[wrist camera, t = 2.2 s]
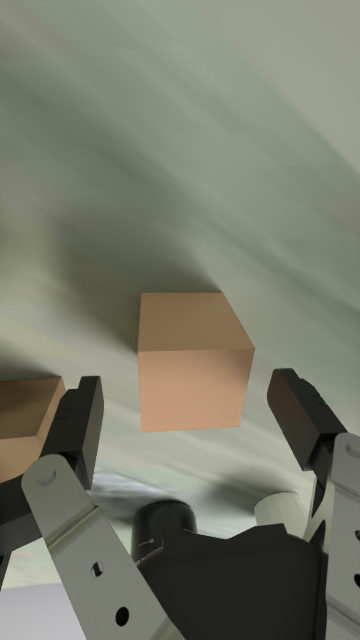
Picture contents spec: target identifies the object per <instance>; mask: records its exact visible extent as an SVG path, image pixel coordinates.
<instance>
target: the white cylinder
mask: <svg viewBox="0 0 360 640" xmlns="http://www.w3.org/2000/svg"><path fill="white" fill-rule="evenodd" d="M254 514H255V519H256V523H257V526H261V525H270V524H279V523H284V525H285V528H286V531H287V533H289V534H292V535H295V536H298V537H300V538H303V535H304V532H305V529H306V526H307V522H308V516H309V511H308V509H307V507H306V505H305V503H304V502H303V500H302V498H301V497H300V495H298V494H295V493H291V492H282V493H277V494H273V495H270V496H268V497H265V498H264V499H262V500H261V501H259V502H258V503H257V505H256V506H255V507H254Z"/></svg>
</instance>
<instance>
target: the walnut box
mask: <svg viewBox="0 0 360 640" xmlns="http://www.w3.org/2000/svg"><path fill="white" fill-rule="evenodd" d="M65 393H66V389H65V386H64V383H63V380H62V377H50V378H37V379H24V380H11V381H0V483H2V482H5V481H7V480H10V479H13V478H15V477H18V476H19V475H21V474H23V473H24V472H25V471H26V470H27V468H28V467H29V466H30V465H31V464H32V463H33V462H34V461H36V460H37V459H38V458H39V456H40V454H41V451H42V448H43V446H44V443H45V440H46V437H47V435H48V432H49V429H50V426H51V423H52V421H53V418H54V415H55V412H56V411H57V407H58V404H59V401H60V399H61V397H62V396H63V395H64V394H65Z"/></svg>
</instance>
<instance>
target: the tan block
mask: <svg viewBox="0 0 360 640" xmlns="http://www.w3.org/2000/svg"><path fill="white" fill-rule="evenodd" d="M254 350H255V347H254V346H253V344H252V342H251V341H250V339H249V337H248V335H247V334H246V332H245V330H244V328H243V327H242V325H241V323H240V322H239V320H238V318H237V316H236V315H235V313H234V311H233V309H232V308H231V306H230V304H229V303H228V301H227V299H226V297H225V296H224V294H223V292H193V293H141V306H140V322H139V337H138V369H139V388H140V407H141V426H142V432H158V431H174V430H191V429H207V428H224V427H239V422H240V417H241V412H242V408H243V403H244V398H245V393H246V389H247V384H248V379H249V374H250V369H251V365H252V360H253V355H254Z"/></svg>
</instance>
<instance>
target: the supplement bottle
mask: <svg viewBox="0 0 360 640" xmlns="http://www.w3.org/2000/svg"><path fill="white" fill-rule="evenodd" d="M190 533H195V534H198V532H197V525H196V518H195V514H194V512H193V511H192V510H191V509H190V508H189V507H188V506H186V505H184V504H181V503H176V502H160V503H155V504H152V505H149V506H146V507H144V508H143V509H141V510H140V511H139V512H138V513H137V514H136V516H135V517H134V520H133V524H132V537H131V555H130V557H131V558H132V560H133V562H134V563H135V565H136V566H137V565H138V564H139V562H140V561H141V560H142V559H144V558H145V557H146V556H147V555H148V554H150V553H151V552H153V551H154V550H156V549H158V548H160V547H162V546H163V537H164V536H173V535H182V534H190Z"/></svg>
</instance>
